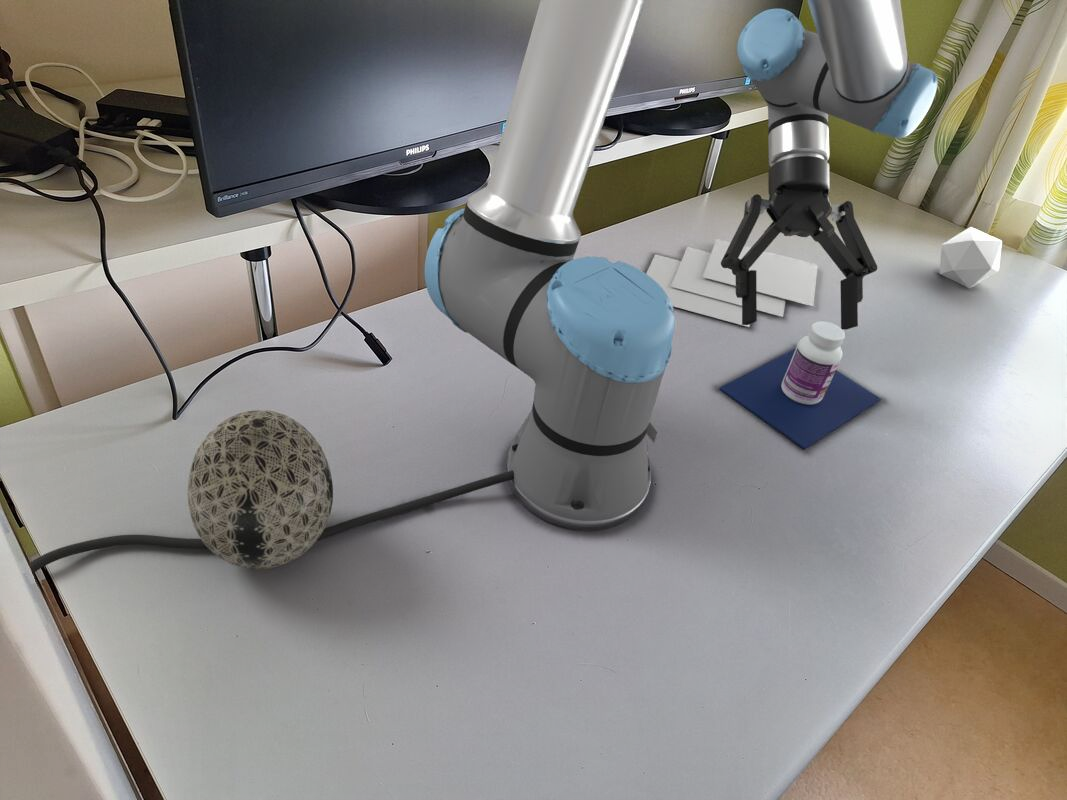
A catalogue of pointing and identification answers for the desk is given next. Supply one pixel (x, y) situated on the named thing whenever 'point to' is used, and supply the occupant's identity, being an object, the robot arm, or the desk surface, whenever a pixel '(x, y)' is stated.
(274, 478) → the decorative egg
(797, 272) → the paper stack
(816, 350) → the pill bottle
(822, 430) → the cloth
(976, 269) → the die
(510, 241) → the robot arm
